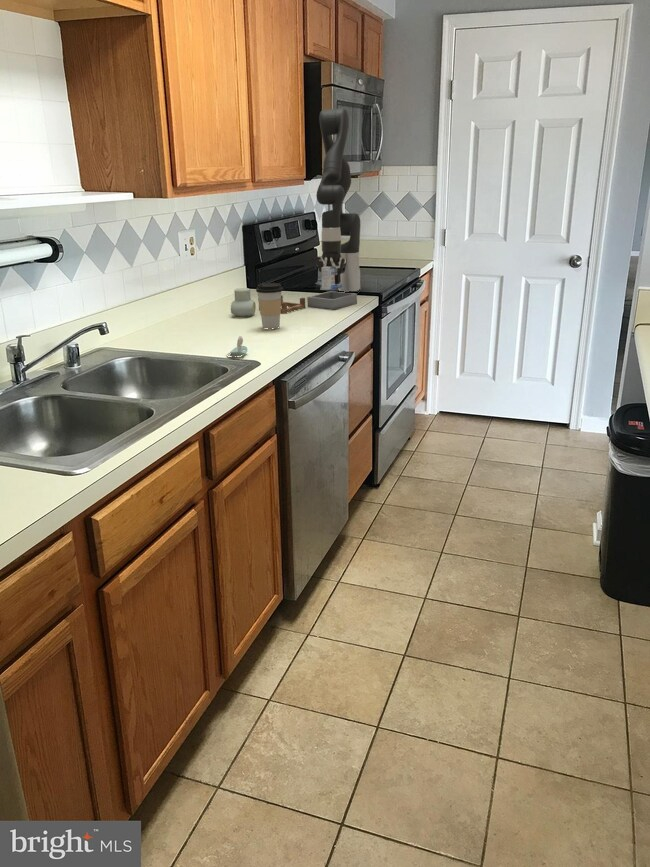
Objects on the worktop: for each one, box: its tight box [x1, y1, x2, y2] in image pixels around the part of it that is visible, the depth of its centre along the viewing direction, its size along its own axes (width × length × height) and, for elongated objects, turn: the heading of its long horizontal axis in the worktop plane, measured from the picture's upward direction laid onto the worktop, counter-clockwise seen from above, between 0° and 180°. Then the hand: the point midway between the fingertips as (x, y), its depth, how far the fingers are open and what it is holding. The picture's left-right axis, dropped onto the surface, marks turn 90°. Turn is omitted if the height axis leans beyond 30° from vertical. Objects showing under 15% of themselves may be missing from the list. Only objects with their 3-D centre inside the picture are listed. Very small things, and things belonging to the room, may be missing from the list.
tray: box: [306, 290, 358, 311], centre depth 286 cm, size 16×13×4 cm
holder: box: [258, 294, 306, 314], centre depth 281 cm, size 13×13×4 cm
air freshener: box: [230, 287, 257, 318], centre depth 270 cm, size 11×8×10 cm
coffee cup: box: [255, 282, 284, 330], centre depth 248 cm, size 9×9×15 cm
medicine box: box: [321, 265, 342, 291], centre depth 283 cm, size 8×4×9 cm, turn 143°
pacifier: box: [226, 335, 248, 358], centre depth 214 cm, size 7×6×6 cm
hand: (332, 283), depth 284 cm, fingers closed on medicine box, 4 cm apart
